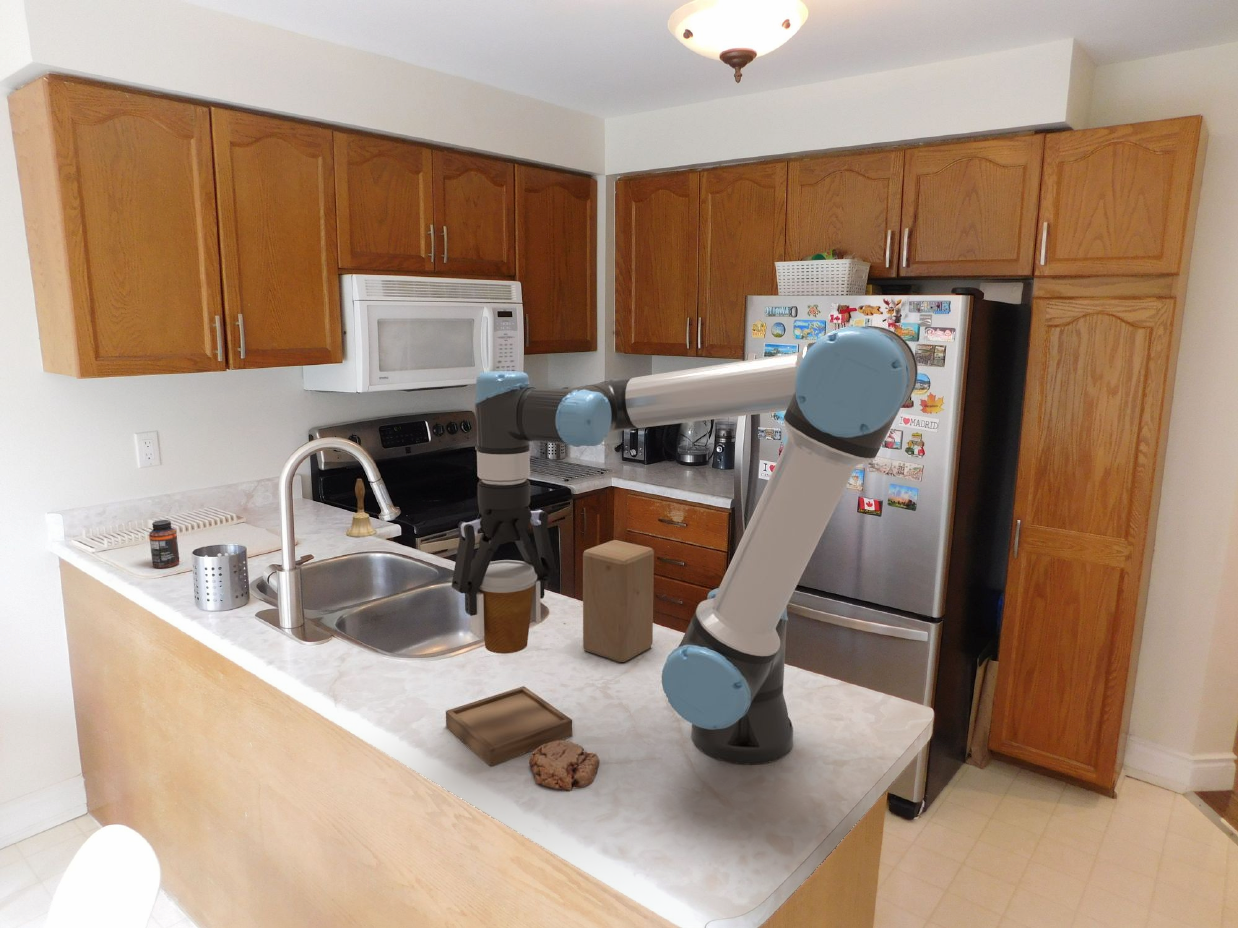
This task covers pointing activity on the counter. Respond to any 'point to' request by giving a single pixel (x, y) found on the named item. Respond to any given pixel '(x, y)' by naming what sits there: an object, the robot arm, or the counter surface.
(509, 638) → the disposable coffee cup
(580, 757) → the cookie
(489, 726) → the wooden tray
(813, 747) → the counter surface
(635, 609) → the wooden block
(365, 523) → the hand bell
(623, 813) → the counter surface
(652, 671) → the counter surface
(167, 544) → the supplement bottle
